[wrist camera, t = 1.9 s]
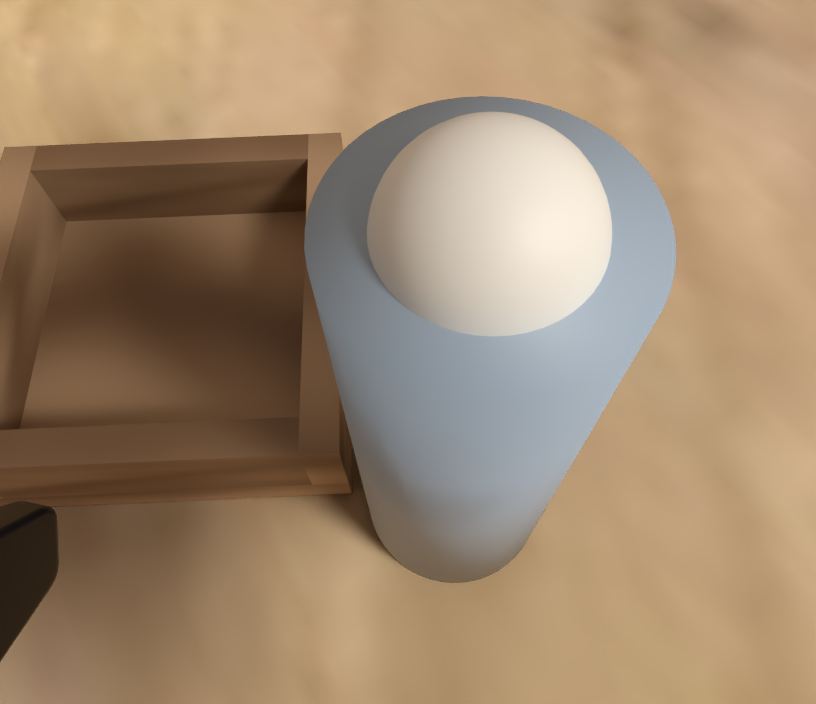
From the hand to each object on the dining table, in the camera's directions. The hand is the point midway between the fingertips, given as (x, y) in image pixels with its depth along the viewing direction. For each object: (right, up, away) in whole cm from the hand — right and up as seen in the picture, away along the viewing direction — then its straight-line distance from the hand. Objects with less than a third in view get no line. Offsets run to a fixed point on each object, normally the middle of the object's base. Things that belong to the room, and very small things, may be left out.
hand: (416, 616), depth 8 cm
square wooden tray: (-7, +3, +15) cm, 17 cm away
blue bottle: (+1, -1, +12) cm, 12 cm away
